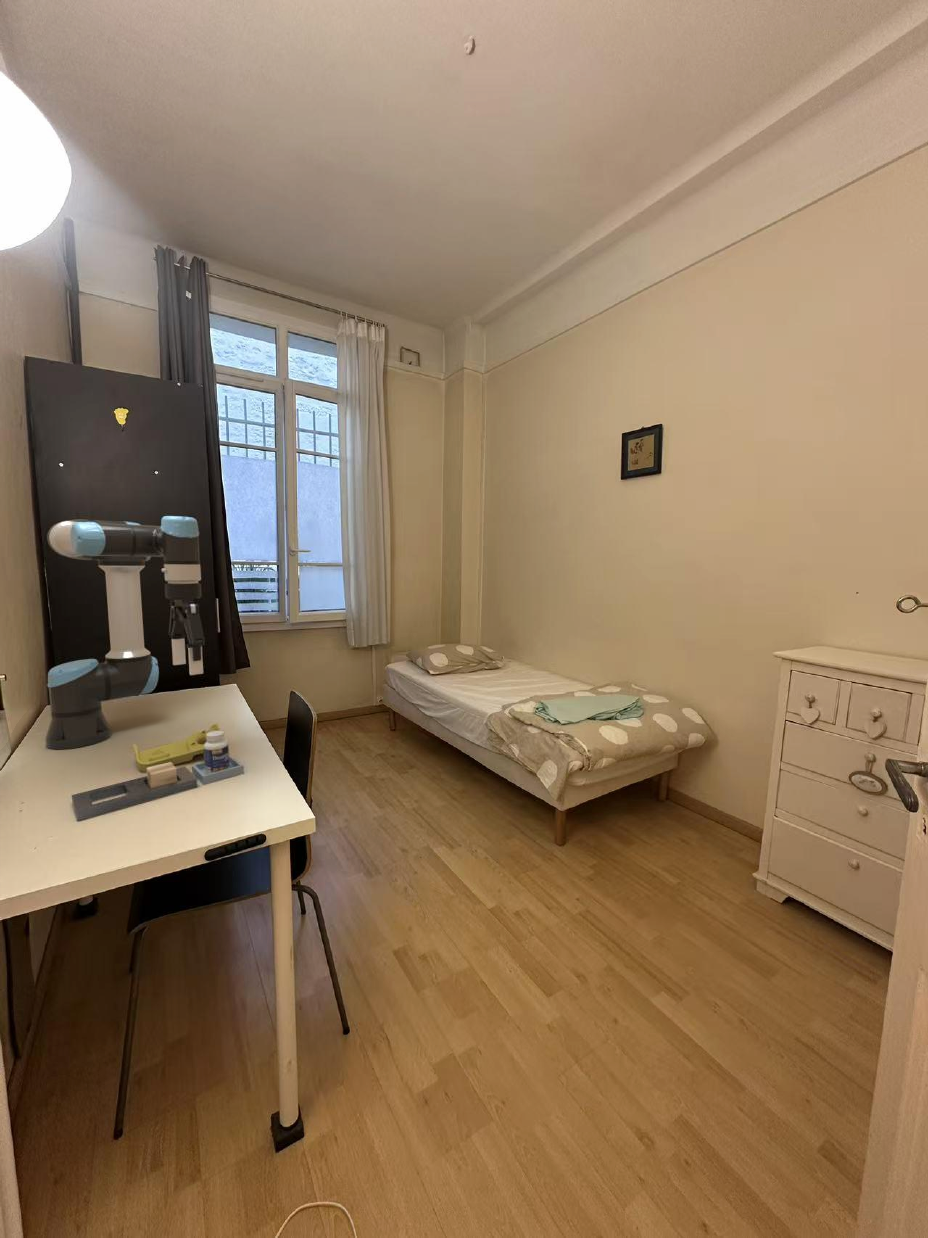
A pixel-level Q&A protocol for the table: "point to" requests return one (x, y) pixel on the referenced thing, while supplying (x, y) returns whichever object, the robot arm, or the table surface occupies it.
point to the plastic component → (173, 751)
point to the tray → (205, 778)
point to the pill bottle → (216, 752)
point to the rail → (128, 794)
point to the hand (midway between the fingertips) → (187, 669)
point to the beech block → (161, 775)
